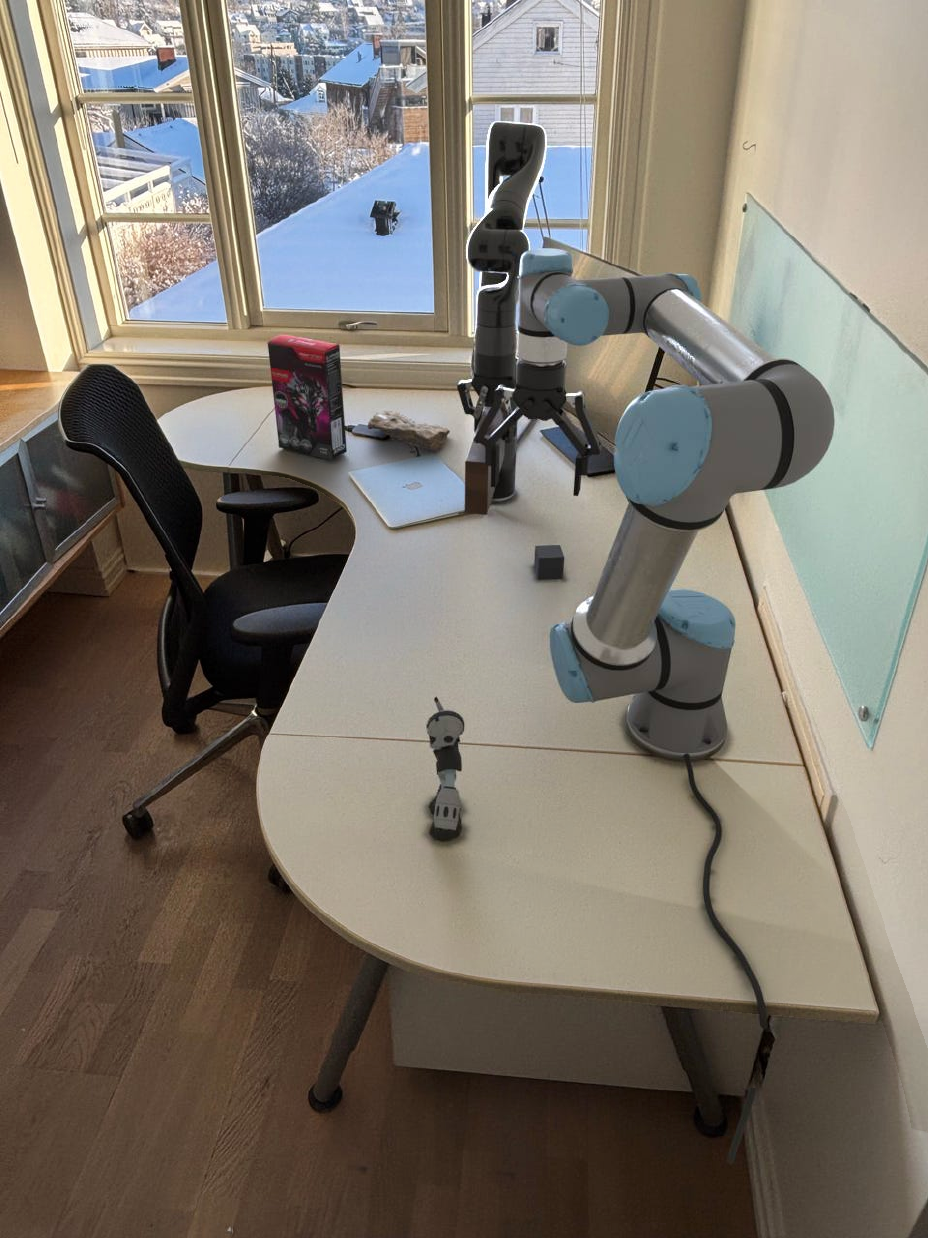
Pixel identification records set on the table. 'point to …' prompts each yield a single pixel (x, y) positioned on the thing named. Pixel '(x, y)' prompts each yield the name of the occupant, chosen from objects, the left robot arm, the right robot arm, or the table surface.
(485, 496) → the beam
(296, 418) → the graphics card box
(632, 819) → the table surface
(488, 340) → the left robot arm
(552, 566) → the grey block
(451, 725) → the robot
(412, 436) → the stone
